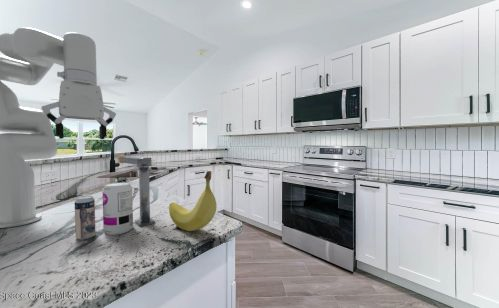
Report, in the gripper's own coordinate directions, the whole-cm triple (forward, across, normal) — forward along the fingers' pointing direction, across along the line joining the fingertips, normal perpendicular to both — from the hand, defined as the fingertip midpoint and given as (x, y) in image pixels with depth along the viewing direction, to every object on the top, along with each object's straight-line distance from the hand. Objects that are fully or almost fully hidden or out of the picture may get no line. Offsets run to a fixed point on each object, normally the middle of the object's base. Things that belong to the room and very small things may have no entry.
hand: (82, 138), depth 65 cm
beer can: (+30, 0, 0) cm, 30 cm away
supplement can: (+30, +9, -1) cm, 31 cm away
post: (+29, +17, 0) cm, 34 cm away
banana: (+30, +25, -17) cm, 42 cm away
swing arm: (+9, +17, +11) cm, 22 cm away
